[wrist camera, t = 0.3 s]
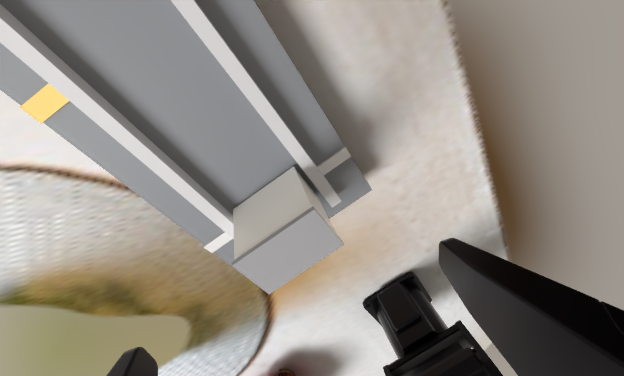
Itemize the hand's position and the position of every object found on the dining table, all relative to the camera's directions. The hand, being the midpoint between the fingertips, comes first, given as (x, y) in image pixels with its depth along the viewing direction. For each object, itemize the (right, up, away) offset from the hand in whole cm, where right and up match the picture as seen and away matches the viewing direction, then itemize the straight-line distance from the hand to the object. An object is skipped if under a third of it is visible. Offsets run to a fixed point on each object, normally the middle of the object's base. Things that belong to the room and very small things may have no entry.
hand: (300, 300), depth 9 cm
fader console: (-6, +8, +10) cm, 14 cm away
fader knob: (-2, +2, +11) cm, 12 cm away
